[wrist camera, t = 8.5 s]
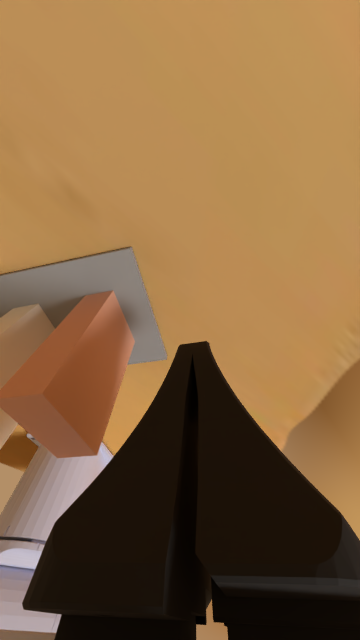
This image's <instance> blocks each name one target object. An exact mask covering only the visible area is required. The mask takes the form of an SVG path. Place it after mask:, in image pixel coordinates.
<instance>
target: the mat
mask: <svg viewBox="0 0 360 640" xmlns="http://www.w3.org/2000/svg"><path fill="white" fill-rule="evenodd" d="M112 290H113V291H114V293H115V296H116V298H117V300H118V303H119V305H120V307H121V310H122V312H123V314H124V317H125V319H126V321H127V324H128V326H129V329H130V331H131V333H132V336H133V338H134V340H135V343H134V346H133V349H132V352H131V355H130V358H129V361H128V364H136V363H143V362H151V361H159V360H166V359H167V354H166V351H165V348H164V345H163V341H162V338H161V335H160V332H159V329H158V326H157V323H156V320H155V317H154V314H153V311H152V308H151V305H150V302H149V299H148V296H147V293H146V289H145V286H144V283H143V280H142V277H141V274H140V271H139V268H138V265H137V262H136V259H135V256H134V253H133V250H132V247H127V248H123V249H118V250H113V251H109V252H104V253H99V254H95V255H90V256H85V257H81V258H76V259H71V260H67V261H62V262H57V263H53V264H48V265H43V266H39V267H34V268H29V269H25V270H20V271H15V272H11V273H6V274H1V275H0V318H1V317H2V316H3V315H5V314H6V313H8V312H9V311H10V310H12V309H13V308H18V307H23V306H28V305H34V304H39V305H40V307H41V308H42V310H43V311H44V313H45V314H46V316H47V317H48V319H49V320H50V322H51V323H52V325H53V326H54V328H55V329H56V328H57V326H58V325H59V324H60V323H61V322H62V321H63V320H64V319H65V318H66V316H67V315H68V314H69V313H70V312H71V311H72V310H73V309H74V308H75V306H76V305H77V304H78V303H79V302H80V301H81V300H82V299H83V298H84V297H85V296H86V295H91V294H96V293H101V292H107V291H112ZM128 364H127V365H128Z"/></svg>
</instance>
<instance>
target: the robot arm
mask: <svg viewBox="0 0 360 640" xmlns="http://www.w3.org/2000/svg"><path fill="white" fill-rule="evenodd" d="M26 436H27V437H28V438H29V439H30V440H31V441H33V442H34V443H35V444H36V445H37V446H38V449H37V451H36V453H35V454H34V456H33V458H32V460H31V462H30V463H29V465H28V467H27V469H26V470H25V472H24V474H23V476H22V478H21V479H20V481H19V483H18V485H17V487H16V488H15V490H14V492H13V494H12V495H11V497H10V499H9V501H8V502H7V505H6V506H5V508H4V510H3V511H2V513H1V515H0V640H196V624H200V625H206V608H207V607H208V605H209V603H210V601H211V599H212V606H213V620H214V622H221V623H224V625H225V626H227V628H228V640H360V540H359V539H358V537H357V536H356V534H355V533H354V531H353V530H352V528H351V527H350V525H349V524H348V522H347V521H346V520H345V518H344V517H343V515H342V514H341V513H340V512H339V511H338V510H337V509H336V508H335V507H334V506H333V505H332V504H331V503H330V502H329V501H328V500H327V499H326V498H325V497H324V496H323V495H322V494H321V493H320V492H319V491H318V490H317V489H316V488H315V487H314V486H313V485H312V484H311V483H310V482H309V481H308V480H307V479H306V478H305V477H304V476H303V475H302V474H301V472H300V471H299V470H298V469H297V468H296V467H295V466H294V465H293V464H292V463H291V462H290V461H289V460H288V459H287V458H286V457H285V455H284V454H283V453H282V452H281V451H280V450H279V449H278V447H277V446H276V445H275V444H274V443H273V442H272V441H271V439H270V438H269V437H268V436H267V435H266V434H265V433H264V431H263V430H262V429H261V428H260V427H259V425H258V424H257V423H256V422H255V420H254V419H253V418H252V417H251V415H250V414H249V413H248V412H247V410H246V409H245V408H244V406H243V405H242V403H241V402H240V401H239V399H238V398H237V396H236V395H235V394H234V392H233V390H232V389H231V387H230V386H229V384H228V383H227V381H226V379H225V378H224V376H223V374H222V372H221V371H220V369H219V367H218V365H217V363H216V361H215V359H214V357H213V355H212V352H211V349H210V346H209V343H208V342H207V341H204V342H197V343H189V344H182V345H180V346H179V347H178V350H177V352H176V355H175V358H174V360H173V362H172V365H171V367H170V369H169V371H168V373H167V375H166V378H165V380H164V382H163V384H162V386H161V387H160V389H159V391H158V393H157V395H156V396H155V398H154V400H153V402H152V403H151V405H150V407H149V408H148V410H147V411H146V413H145V415H144V416H143V418H142V419H141V421H140V422H139V424H138V425H137V426H136V428H135V429H134V431H133V432H132V433H131V435H130V436H129V438H128V439H127V440H126V442H125V443H124V444H123V446H122V447H121V448H120V449H119V451H118V452H117V453H116V454H115V456H113V455H112V454H111V452H110V451H109V450H108V449H107V447H106V446H105V445H104V444H103V442H101V445H100V448H99V451H98V454H97V456H82V457H68V458H56V457H55V456H54V455H53V454H52V453H51V452H50V451H49V450H47V449H46V448H45V447H44V446H43V445H42V444H41V443H39V442H38V441H37V440H36V439H35V438H34V437H33V436H32V435H30V434H29V433H27V435H26Z"/></svg>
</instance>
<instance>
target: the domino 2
mask: <svg viewBox="0 0 360 640" xmlns="http://www.w3.org/2000/svg"><path fill="white" fill-rule="evenodd" d="M134 343H135V340H134V338H133V336H132V333H131V331H130V329H129V326H128V324H127V321H126V319H125V317H124V314H123V312H122V310H121V307H120V305H119V303H118V300H117V298H116V296H115V293H114V291H113V290H112V291H107V292H101V293H96V294H91V295H86V296H85V297H84V298H83V299H82V300H81V301H80V302H79V303H78V304H77V305H76V306H75V308H74V309H73V310H72V311H71V312H70V313H69V314H68V315H67V316H66V318H65V319H64V320H63V321H62V322H61V323H60V324H59V325H58V326H57V328H56V329H55V330H54V331H53V332H52V333H51V334H50V335H49V336H48V338H47V339H46V340H45V341H44V342H43V343H42V344H41V345H40V346H39V347H38V349H37V350H36V351H35V352H34V353H33V354H32V355H31V356H30V357H29V359H28V360H27V361H26V362H25V363H24V364H23V365H22V366H21V367H20V369H19V370H18V371H17V372H16V373H15V374H14V375H13V376H12V377H11V378H10V380H9V381H8V382H7V383H6V384H5V385H4V386H3V387H2V388H1V390H0V408H1V409H2V410H3V411H5V412H6V413H7V414H8V415H9V416H10V417H11V418H12V419H14V420H15V421H16V422H17V423H18V424H19V425H20V426H21V427H23V428H24V429H25V430H26V431H27V432H28V433H29V434H30V435H32V436H33V437H34V438H35V439H36V440H37V441H38V442H39V443H41V444H42V445H43V446H44V447H45V448H46V449H47V450H49V451H50V452H51V453H52V454H53V455H54V456H55V457H56V458H68V457H82V456H97V454H98V451H99V448H100V445H101V442H102V439H103V436H104V433H105V430H106V427H107V424H108V421H109V418H110V415H111V412H112V409H113V406H114V403H115V400H116V397H117V394H118V391H119V388H120V385H121V382H122V379H123V376H124V373H125V370H126V367H127V364H128V361H129V358H130V355H131V352H132V349H133V346H134Z"/></svg>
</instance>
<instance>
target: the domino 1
mask: <svg viewBox="0 0 360 640" xmlns="http://www.w3.org/2000/svg"><path fill="white" fill-rule="evenodd" d="M54 330H55V328H54V326H53V325H52V323H51V322H50V320H49V319H48V317H47V316H46V314H45V313H44V311H43V310H42V308H41V307H40V305H39V304H34V305H28V306H23V307H18V308H13V309H12V310H10V311H9V312H8V313H6V314H5V315H3V316H2V317H1V318H0V390H1V388H2V387H3V386H4V385H5V384H6V383H7V382H8V381H9V380H10V378H11V377H12V376H13V375H14V374H15V373H16V372H17V371H18V370H19V369H20V367H21V366H22V365H23V364H24V363H25V362H26V361H27V360H28V359H29V357H30V356H31V355H32V354H33V353H34V352H35V351H36V350H37V349H38V347H39V346H40V345H41V344H42V343H43V342H44V341H45V340H46V339H47V338H48V336H49V335H50V334H51V333H52V332H53V331H54ZM17 425H18V423H17V422H16V421H15V420H14V419H12V418H11V417H10V416H9V415H8V414H7V413H6V412H5V411H3V410H2V409H1V408H0V449H1V448H2V446H3V445H4V444H5V442H6V441H7V439H8V438H9V437H10V435H11V434H12V432H13V431H14V429H15V428H16V427H17Z"/></svg>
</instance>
